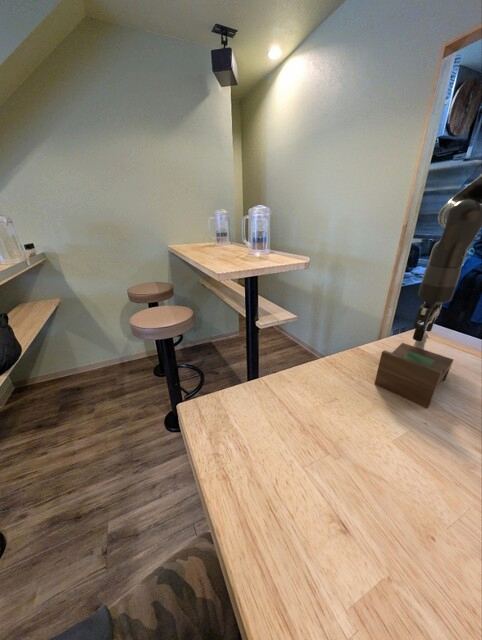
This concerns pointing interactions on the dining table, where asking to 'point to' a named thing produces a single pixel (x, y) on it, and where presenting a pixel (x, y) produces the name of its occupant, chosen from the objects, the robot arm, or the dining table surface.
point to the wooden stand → (412, 373)
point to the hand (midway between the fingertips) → (421, 335)
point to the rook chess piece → (421, 342)
